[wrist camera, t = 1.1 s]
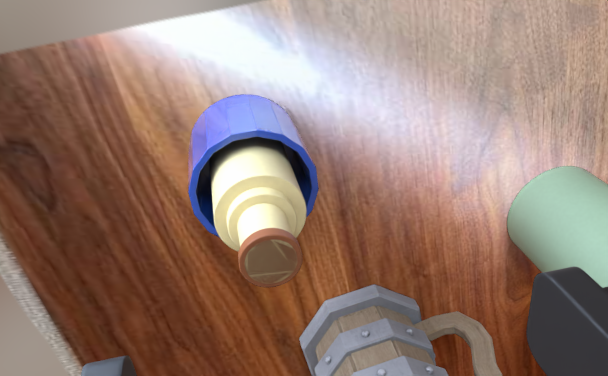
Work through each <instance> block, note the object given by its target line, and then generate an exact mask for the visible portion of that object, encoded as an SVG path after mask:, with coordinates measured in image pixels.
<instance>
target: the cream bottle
mask: <svg viewBox="0 0 608 376" xmlns="http://www.w3.org/2000/svg"><path fill="white" fill-rule="evenodd" d="M209 162H210V176H211V189H212V203H213V216H214V225H215V228H216V231H217V233H218V235H219V237H220V238H221V239H222V241H223V242H224V243H225V244H227V245H228V246H229V247H230V248H232V249H234V250H236V251H238V252H239V253H238V261H239V268H240V271H241V273H242V275H243V276H244V278H245V279H246V280H247V281H249V282H250V283H252V284H254V285H256V286H260V287H275V286H279V285H282V284H284V283H286V282H288V281H289V280H291V279H292V278H293V277H294V276H295V275H296V274H297V273H298V271H299V269H300V267H301V265H302V251H301V248H300V245H299V243H298V241H297V239H296V238H297V236H298V235H299V234H300V232H301V230H302V228H303V226H304V224H305V220H306V213H307V211H306V204H305V200H304V198H303V195H302V193H301V190H300V187H299V185H298V182H297V180H296V177H295V175H294V172H293V169H292V167H291V164H290V162H289V159H288V156H287V154H286V151H285V149H284V146H283V144H282V142H281V141H278V140H273V139H267V138H262V137H252V138H247V139H241V140H236V141H232V142H231V143H229V144H228V145H226V146H224V147H223V148H221V149H219V150H218V151H216V152H215V153H213V154H212V156H211V157H210V158H209Z"/></svg>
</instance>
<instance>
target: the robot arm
mask: <svg viewBox="0 0 608 376" xmlns="http://www.w3.org/2000/svg"><path fill="white" fill-rule="evenodd" d="M527 340H528V344H529V348H530V350H531V352H532V355H533V357H534V358H535V360H536V361H537V363H538V364H539V365H540V367H541V368H542V369H543V371H544V372H545V373H546V375H547V376H608V287H604V288H602V287H601V286H600V285H599V284H598V283H597V282H596V281H594V280H593V279H592V278H591V277H590V276H589V275H588V274H587V273H586V272H585V271H583V270H582V269H581V268H579V267H574V266H573V267H568V268H563V269H558V270H553V271H548V272H543V273H539V274H537V275H536V277H535V279H534V282H533V289H532V295H531V302H530V309H529V316H528V323H527ZM81 376H137V375H136V372H135V369H134V366H133V363H132V361H131V359H130V357H129V356H122V357H117V358H112V359H107V360H102V361H97V362H92V363H87V364H85V366H84V367H83V369H82V373H81Z"/></svg>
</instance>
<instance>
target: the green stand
mask: <svg viewBox="0 0 608 376" xmlns="http://www.w3.org/2000/svg"><path fill="white" fill-rule="evenodd" d="M507 228H508V233H509V236H510V238H511V240H512V241H513V242H514V244H515V245H516V246H517V247H518V248H519V249H520V250H521V251H522V252H523V253H524V254H525V255H526V256H527V257H528V258H529V259H530V260H531V261H532V262H533V263H534V264H535V265H536V266H537V268H538V269H539V270H540V271H541V272H542V273H543V272H548V271H553V270H558V269H563V268H568V267H573V266H574V267H579V268H581V269H582V270H583V271H585V272H586V273H587V274H588V275H589V276H590V277H591V278H592V279H593V280H594V281H596V282H597V283H598V284H599V285H600V286H601V287H602V288H604V287H608V184H606V183H605V182H603V181H602V180H600V179H599V178H597V177H596V176H594V175H593V174H591V173H590V172H588V171H587V170H584V169H582V168H579V167H574V166H563V167H557V168H554V169H551V170H548V171H546V172H544V173H542V174H540V175H538V176H537V177H535V178H534V179H532V180H531V181H530V182H529V183H528V184H526V185H525V186H524V187H523V189H522V190H521V191H520V192H519V193H518V195H517V196H516V198H515V199H514V201H513V203H512V205H511V207H510V210H509V213H508V218H507Z"/></svg>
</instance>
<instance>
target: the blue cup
mask: <svg viewBox="0 0 608 376" xmlns="http://www.w3.org/2000/svg"><path fill="white" fill-rule="evenodd" d="M252 137H262V138H267V139H273V140H278V141H281V142H282V144H283V146H284V149H285V151H286V154H287V156H288V159H289V162H290V164H291V167H292V169H293V172H294V175H295V177H296V180H297V182H298V185H299V187H300V190H301V193H302V195H303V198H304V200H305V204H306V211H307V213H306V217H307V216H308V215H309V214H310V213H311V211H312V209H313V206H314V203H315V199H316V196H317V193H318V189H319V188H318V180H317V172H316V166H315V164H314V162H313V160H312V158H311V156H310V154H309V152H308V150H307V148H306V146H305V144H304V141H303V139H302V137H301V135H300V133H299V131H298V129H297V127H296V126H295V124H294V123H293V121H292V119H291V117H290V116H289V115H288V113H287V112H286V111H285V110H284V109H283V108H282V107H280V106H279V105H278V104H276V103H275V102H273V101H271V100H269V99H267V98H264V97H260V96H256V95H235V96H231V97H227V98H224V99H222V100H220V101H218V102H216V103H214V104H213V105H211V106H210V107H209V108H208V109H206V110H205V111H204V112H203V113H202V115H201V116H200V117H199V118H198V120H197V122H196V123H195V126H194V128H193V130H192V134H191V138H190V146H189V183H188V193H189V197H190V201H191V204H192V208H193V212H194V215H195V216H196V217H197V218H198V220H199V221H200V222H201V223H202V224H203V226H204V227H205V228H206V229H207V230H208V231H209V232H210V233H212V234H214V235H216V236H218V237H219V235H218V233H217V231H216V228H215V225H214V216H213V203H212V189H211V176H210V162H209V158H210V157H211V156H212V154H213V153H215V152H216V151H218V150H219V149H221V148H223V147H224V146H226V145H228V144H229V143H231V142H232V141H236V140H241V139H247V138H252Z"/></svg>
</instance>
